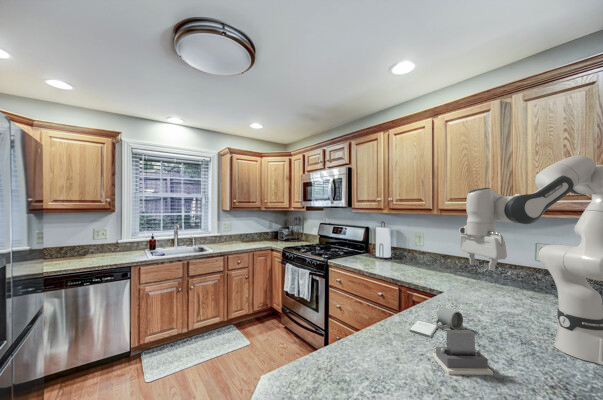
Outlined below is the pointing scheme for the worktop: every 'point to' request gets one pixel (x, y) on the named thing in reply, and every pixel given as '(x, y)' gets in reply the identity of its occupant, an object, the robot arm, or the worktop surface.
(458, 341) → the block
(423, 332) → the external hard drive
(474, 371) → the dock
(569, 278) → the robot arm
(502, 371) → the worktop surface
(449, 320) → the ceramic mug
